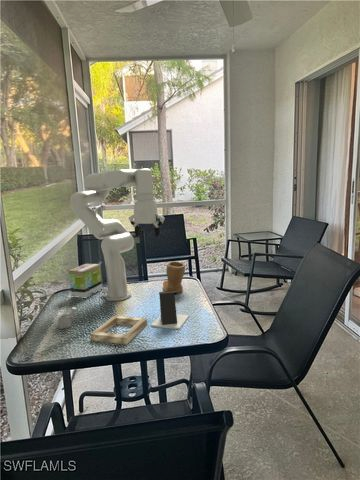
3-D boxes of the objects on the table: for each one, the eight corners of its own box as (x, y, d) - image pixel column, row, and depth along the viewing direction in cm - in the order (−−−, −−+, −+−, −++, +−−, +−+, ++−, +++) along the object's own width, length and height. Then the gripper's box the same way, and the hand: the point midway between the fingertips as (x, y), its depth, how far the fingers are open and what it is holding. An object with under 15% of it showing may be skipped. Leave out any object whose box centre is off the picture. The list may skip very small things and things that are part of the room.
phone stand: (177, 323, 131) (175, 294, 129) (162, 325, 130) (160, 296, 128) (174, 314, 140) (172, 287, 137) (160, 316, 139) (158, 288, 137)
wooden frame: (91, 340, 123) (90, 333, 122) (114, 321, 139) (114, 315, 138) (126, 344, 118) (126, 338, 117) (147, 324, 133) (146, 318, 133)
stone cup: (187, 293, 166) (185, 264, 163) (163, 295, 165) (161, 266, 162) (184, 284, 181) (183, 257, 178) (163, 286, 180) (161, 259, 177)
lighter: (59, 328, 135) (57, 309, 133) (60, 326, 137) (58, 308, 135) (77, 326, 136) (75, 307, 135) (78, 324, 138) (76, 306, 136)
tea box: (86, 299, 168) (83, 271, 165) (70, 297, 171) (67, 270, 168) (103, 289, 181) (100, 263, 179) (88, 288, 185) (85, 262, 182)
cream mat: (151, 326, 131) (151, 324, 131) (162, 314, 142) (162, 313, 142) (179, 329, 127) (179, 327, 127) (189, 316, 138) (189, 315, 138)
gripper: (123, 198, 144) (126, 237, 148) (159, 197, 138) (161, 238, 142) (131, 197, 151) (134, 234, 154) (166, 196, 145) (168, 234, 148)
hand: (147, 235), depth 148 cm, fingers open, 9 cm apart
